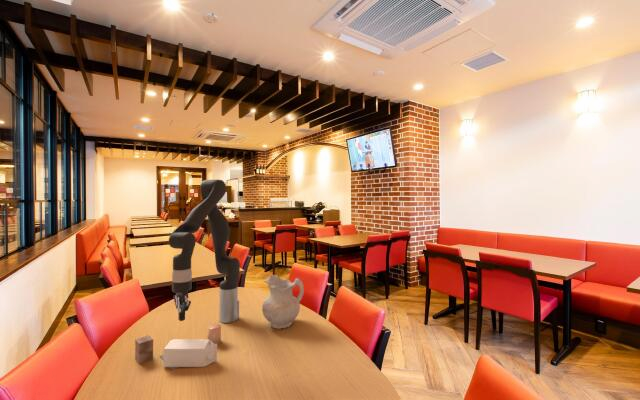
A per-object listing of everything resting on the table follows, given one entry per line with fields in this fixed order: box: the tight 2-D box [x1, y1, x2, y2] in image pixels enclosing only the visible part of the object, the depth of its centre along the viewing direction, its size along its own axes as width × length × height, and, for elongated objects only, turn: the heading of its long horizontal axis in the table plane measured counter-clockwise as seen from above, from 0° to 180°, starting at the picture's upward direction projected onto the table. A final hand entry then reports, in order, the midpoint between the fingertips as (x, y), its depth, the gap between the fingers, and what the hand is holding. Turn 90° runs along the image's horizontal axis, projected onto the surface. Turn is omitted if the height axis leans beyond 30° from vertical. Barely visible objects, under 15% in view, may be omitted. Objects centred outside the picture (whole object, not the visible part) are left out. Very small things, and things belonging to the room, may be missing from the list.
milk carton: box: [162, 338, 218, 368], centre depth 116 cm, size 7×7×19 cm
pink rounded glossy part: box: [207, 323, 222, 346], centre depth 132 cm, size 6×6×7 cm
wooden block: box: [134, 334, 154, 365], centre depth 118 cm, size 5×5×8 cm
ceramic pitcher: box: [261, 274, 305, 330], centre depth 152 cm, size 22×20×25 cm
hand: (181, 320), depth 125 cm, fingers closed
